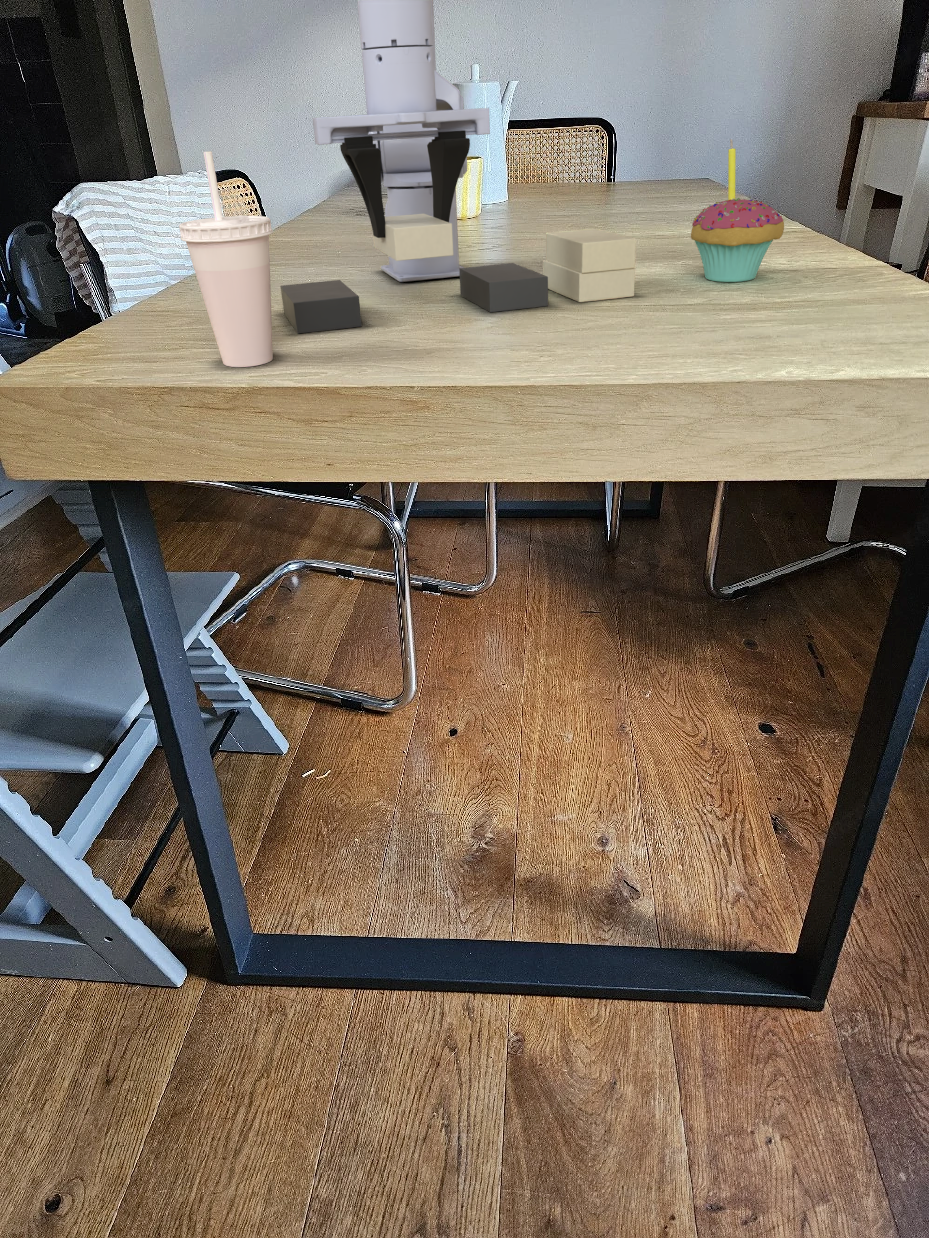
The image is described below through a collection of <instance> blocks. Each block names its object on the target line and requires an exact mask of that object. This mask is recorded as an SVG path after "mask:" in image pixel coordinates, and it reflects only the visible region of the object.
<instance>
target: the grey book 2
mask: <svg viewBox="0 0 929 1238" xmlns="http://www.w3.org/2000/svg"><path fill="white" fill-rule="evenodd" d="M459 272H460V276H459V289H460V290H459V291H460V296H461V297H462V298H464V299H466V300H467V301H470V302H471V303H473V304H475V305H476V306H478V307H480V308H481V309H484V310H485V311H487V312H488V313H497V312H506V311H514V310H524V309H532V308H542V307H548V306H549V289H548V277H547V276H545V275H543V273H540V272H537V271H534V270H532V269H529V268H527V267H524V266H522V265H520V264H517V263H515V262H508V263H497V264H489V265H478V266H469V267H465V268H459Z"/></svg>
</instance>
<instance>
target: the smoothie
mask: <svg viewBox="0 0 929 1238" xmlns="http://www.w3.org/2000/svg"><path fill="white" fill-rule="evenodd" d="M213 156H214V155H213V151H211V150H209V151H203V158H204V164H205V170H206V175H207V181H208V188H209V194H210V199H211V205H212V210H213V217H206V218H199V219H194V220H188V221H184V222H182V223H180V224H179V225H178V229H179V235H180V238H179V239H180V240H181V241H183V242H185V243H186V246H187V249H188V254H189V257H190V259H191V264H192V267H193V270H194V273H195V276H196V279H197V282H198V286H199V289H200V292H201V296H202V299H203V302H204V306H205V309H206V311H207V315H208V318H209V321H210V324H211V328H212V332H213V334H214V338H215V341H216V344H217V348H218V351H219V354H220V357H221V361H222V364H223V365H224V366H226V367H232V368H249V367H255V366H260V365H265V364H267V363H270V362H271V361H273V360H274V353H273V352H274V349H273V324H272V323H273V321H272V320H273V319H272V291H271V289H272V287H271V257H270V255H271V254H270V235H273V233H274V230H273V228H272V222H271V220H272V219H271V218H270V217H268V216H264V215H245V214H244V215H243V214H242V215H241V214H239V215H232V216H231V215H229V216H223V210H222V205H221V199H220V192H219V186H218V182H217V181H218V180H217V174H216V169H215V163H214V157H213Z"/></svg>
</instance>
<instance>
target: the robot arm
mask: <svg viewBox="0 0 929 1238" xmlns="http://www.w3.org/2000/svg"><path fill="white" fill-rule="evenodd" d="M356 1H357V3H356V5H357V14H358V15H357V16H358V24H359V36H360V48H361V59H362V61H361V62H362V73H363V81H364V82H363V83H364V92H365V93H364V94H365V95H364V96H365V105H366V106H365V107H366V114H352V115H351V114H350V115H336V116H335V115H333V116H319V117H318V116H316V117H312V127H313V133H314V135H313V136H314V144H315V145H319V146H321V145H322V146H323V145H332V144H339V147H340V148H339V149H340V152H341V155H342V157H343V159H344V161H345V163H346V165H347V167H348V168H349V170H350V172H351V175H352V177H353V178H354V181H355V183H356V185H357V187H358V189H359V192H360V194H361V196H362V199H363V202H364V204H365V208H366V211H367V214H368V217H369V221H370V225H371V231H372V230H373V232H372V236H373V235H374V236H375V237H377V238H385V225H386V223H385V217H389V216H401V215H413V214H427V215H429V216H432V217H435V218H438V219H440V220H443V221H446V222H449V223H451V224H452V235H453V256H443V257H433V258H422V259H412V260H401V261H396V260H394V259H393V258H391V257H389V256H388V264H383V265H380V270H381V271H382V272H384V273H386V274H387V275H389V276H390V277H391V278H393V279H395V280H396V281H397V282H399V283H404V282H405V283H406V282H414V281H415V282H416V281H426V280H435V279H444V278H454V277H460V272H459V268H466V267H465V266H463V265H460V253H459V252H460V251H459V250H460V249H459V229H458V207H457V184H458V181H459V179H462V178H464V175H466V173H467V172H468V155H469V153H470V148H471V139H470V138H468V137H467V136H474V135H476V136H480V135H481V136H482V135H483V136H484V135H490V134H491V132H490V131H491V130H490V129H491V128H490V127H491V126H490V125H491V124H490V108H489V107H481V108H478V107H477V108H465V107H464V106H465V105H464V104H465V103H464V97H463V96H462V94H461V91H460V89H459V88H458V87H457V86H455V85H454V84H452V82H450V81H449V80H447V79H446V78H445V77H444V76H443V75H441V74H440V73H439V72H438V71H437V61H436V59H437V58H436V38H435V37H436V36H435V13H434V0H356ZM382 183H383V187H384V188H386V193H387V195H386V196H387V200H386V202H385V207H384V202H383V193H382Z"/></svg>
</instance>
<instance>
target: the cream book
mask: <svg viewBox="0 0 929 1238" xmlns="http://www.w3.org/2000/svg"><path fill="white" fill-rule="evenodd" d="M385 223H386V225H385V238H377V237H375V236H374V235H373V234H372V241H373V242H372V243H373V248H374V249H376V250H377V251H379V252H381V253H382V254H384V255H386V256H388V258H389V257H391V258H393V259H394V260H396V261H401V260H412V259H422V258H433V257H443V256H453V235H452V224H451V223H449V222H446V221H443V220H440V219H438V218H435V217H432V216H429V215H427V214H413V215H401V216H389V217H385ZM371 231H372V232H371V233H373V230H372V229H371Z"/></svg>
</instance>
